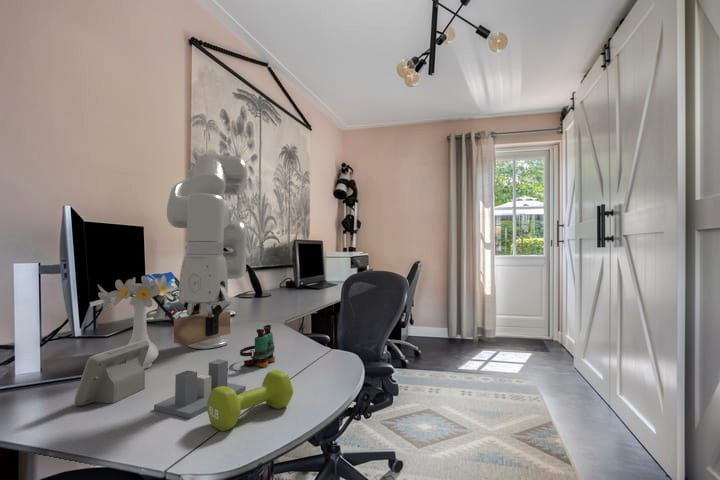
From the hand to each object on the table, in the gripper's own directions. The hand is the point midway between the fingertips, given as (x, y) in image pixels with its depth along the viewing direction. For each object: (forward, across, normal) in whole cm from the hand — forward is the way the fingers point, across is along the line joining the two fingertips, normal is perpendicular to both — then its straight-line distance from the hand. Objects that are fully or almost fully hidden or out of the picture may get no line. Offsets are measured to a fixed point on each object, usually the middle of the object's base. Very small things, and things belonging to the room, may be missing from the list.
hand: (203, 333), depth 83 cm
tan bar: (+1, 0, 0) cm, 1 cm away
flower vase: (+14, -33, +9) cm, 37 cm away
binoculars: (+15, -6, +26) cm, 31 cm away
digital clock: (+15, -20, -6) cm, 26 cm away
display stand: (+14, 0, 0) cm, 14 cm away
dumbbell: (+15, +15, -2) cm, 21 cm away
